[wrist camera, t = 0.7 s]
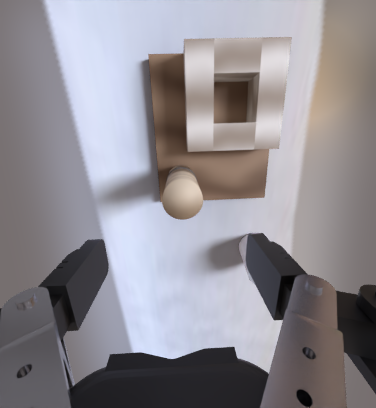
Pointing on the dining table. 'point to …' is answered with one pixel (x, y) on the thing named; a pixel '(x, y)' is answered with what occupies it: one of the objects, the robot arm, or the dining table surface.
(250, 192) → the socket board
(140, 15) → the dining table surface
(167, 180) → the peg
